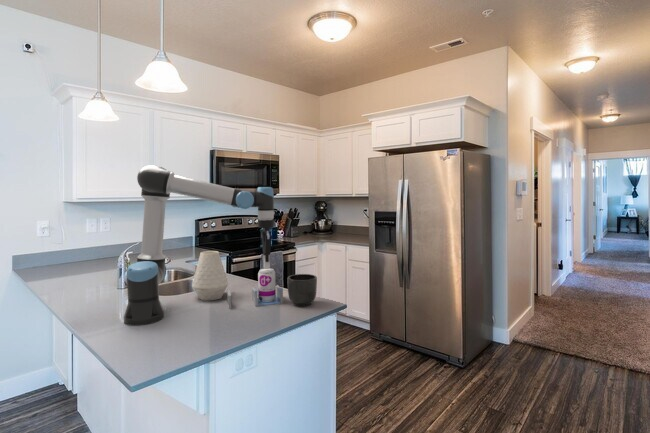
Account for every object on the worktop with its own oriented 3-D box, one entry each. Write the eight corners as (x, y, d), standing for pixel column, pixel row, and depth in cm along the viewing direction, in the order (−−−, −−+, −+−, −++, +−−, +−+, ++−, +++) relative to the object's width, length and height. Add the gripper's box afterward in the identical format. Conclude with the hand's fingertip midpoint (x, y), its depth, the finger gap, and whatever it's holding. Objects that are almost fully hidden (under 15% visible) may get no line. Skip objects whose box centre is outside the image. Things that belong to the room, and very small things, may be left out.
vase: (187, 296, 189) (186, 252, 188) (220, 291, 200) (219, 248, 198) (200, 304, 175) (198, 256, 174) (234, 298, 186) (233, 252, 185)
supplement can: (272, 303, 176) (271, 271, 175) (256, 302, 177) (255, 271, 176) (278, 298, 184) (277, 268, 183) (262, 297, 185) (261, 267, 184)
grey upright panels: (228, 308, 169) (228, 293, 169) (227, 301, 180) (226, 286, 180) (283, 303, 177) (282, 288, 176) (278, 296, 188) (278, 282, 188)
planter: (292, 299, 184) (291, 273, 183) (319, 300, 181) (319, 274, 180) (284, 307, 170) (283, 280, 169) (313, 309, 168) (313, 281, 167)
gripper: (276, 220, 173) (277, 270, 174) (271, 218, 185) (272, 265, 187) (260, 220, 171) (260, 271, 172) (256, 218, 183) (257, 266, 185)
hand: (266, 268), depth 179 cm, fingers closed
